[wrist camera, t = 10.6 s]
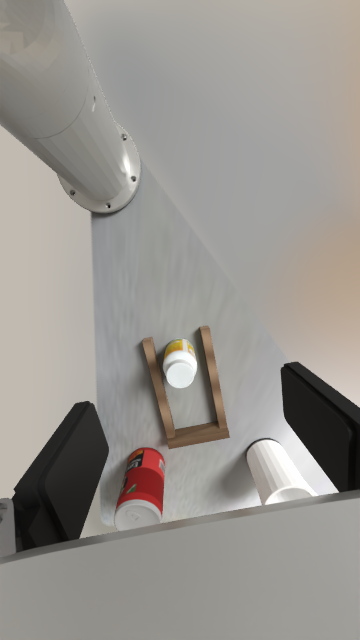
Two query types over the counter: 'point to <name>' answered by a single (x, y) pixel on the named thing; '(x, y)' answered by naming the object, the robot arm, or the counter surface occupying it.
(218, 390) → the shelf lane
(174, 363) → the supplement bottle
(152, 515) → the canned food
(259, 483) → the mug
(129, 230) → the counter surface
